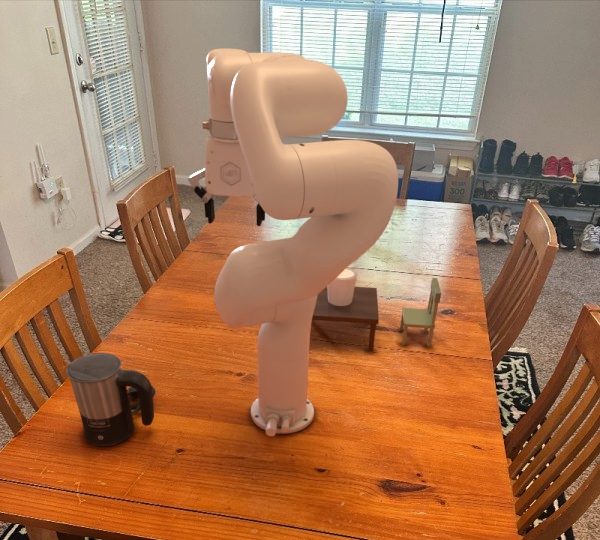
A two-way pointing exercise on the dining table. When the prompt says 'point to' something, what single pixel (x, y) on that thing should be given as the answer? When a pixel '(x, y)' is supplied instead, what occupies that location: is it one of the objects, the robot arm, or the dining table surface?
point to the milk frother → (109, 397)
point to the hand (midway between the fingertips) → (235, 222)
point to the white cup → (342, 288)
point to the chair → (422, 314)
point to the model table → (351, 310)
